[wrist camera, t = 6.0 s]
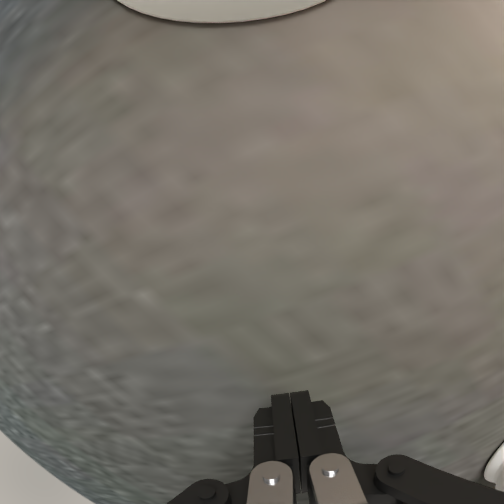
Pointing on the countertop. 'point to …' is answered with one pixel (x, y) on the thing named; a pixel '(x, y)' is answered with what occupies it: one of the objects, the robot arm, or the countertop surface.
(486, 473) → the jar
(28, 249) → the countertop surface
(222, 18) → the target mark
